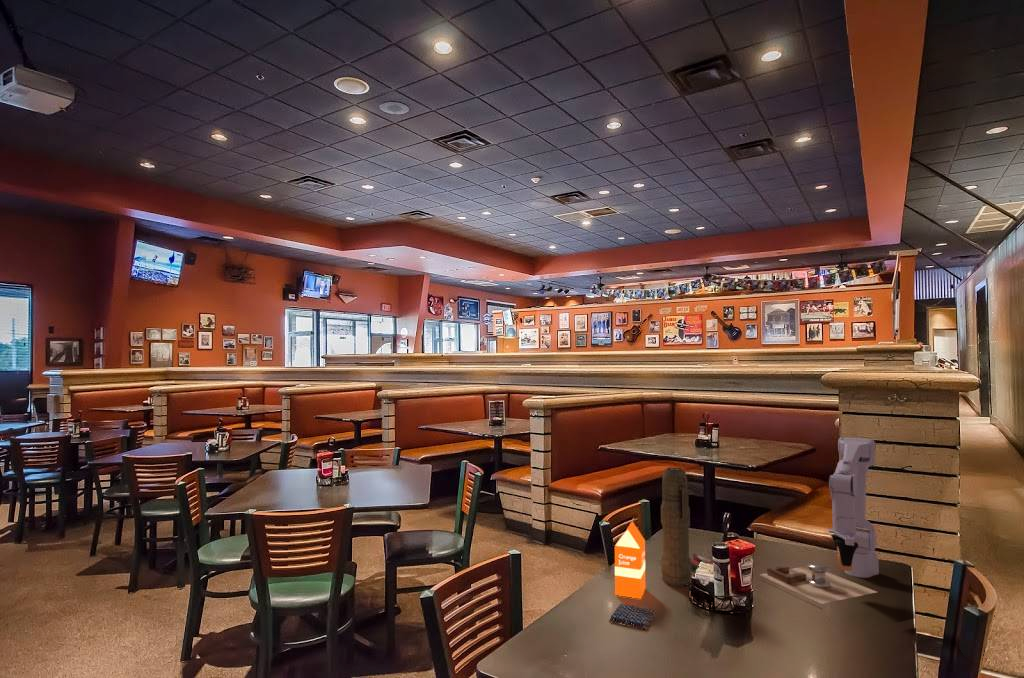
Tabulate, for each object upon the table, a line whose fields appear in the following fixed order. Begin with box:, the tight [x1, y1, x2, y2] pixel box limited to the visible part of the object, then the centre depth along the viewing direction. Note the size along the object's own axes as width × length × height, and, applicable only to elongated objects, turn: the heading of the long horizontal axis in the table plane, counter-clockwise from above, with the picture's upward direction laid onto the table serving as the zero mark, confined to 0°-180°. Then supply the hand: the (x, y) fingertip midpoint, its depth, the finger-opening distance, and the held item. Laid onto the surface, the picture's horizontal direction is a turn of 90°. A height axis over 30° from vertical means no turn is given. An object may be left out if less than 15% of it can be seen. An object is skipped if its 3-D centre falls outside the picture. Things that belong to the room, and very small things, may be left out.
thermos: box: [660, 466, 692, 587], centre depth 178 cm, size 9×12×35 cm
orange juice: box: [614, 520, 646, 600], centre depth 170 cm, size 8×9×20 cm
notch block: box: [766, 565, 806, 584], centre depth 176 cm, size 8×8×2 cm
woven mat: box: [608, 602, 656, 631], centre depth 152 cm, size 10×11×2 cm
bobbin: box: [806, 561, 831, 588], centre depth 171 cm, size 6×6×6 cm
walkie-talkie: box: [690, 553, 711, 572], centre depth 188 cm, size 9×4×20 cm
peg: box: [836, 546, 852, 572], centre depth 164 cm, size 4×4×7 cm
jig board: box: [759, 565, 878, 610], centre depth 172 cm, size 22×23×2 cm
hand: (844, 563), depth 164 cm, fingers closed on peg, 4 cm apart
